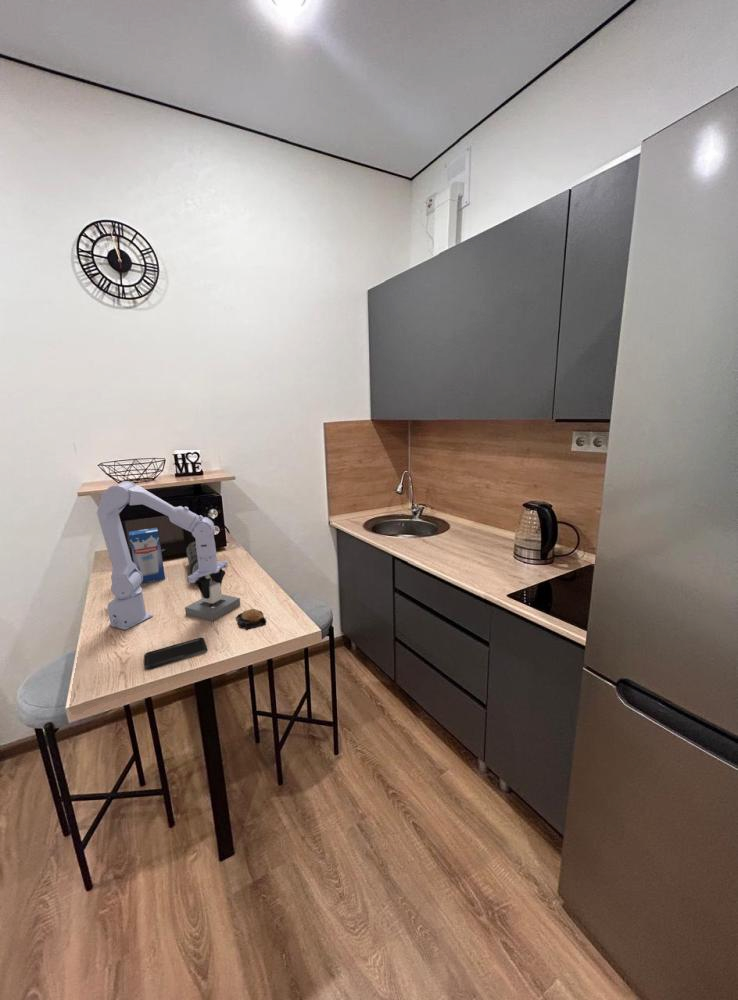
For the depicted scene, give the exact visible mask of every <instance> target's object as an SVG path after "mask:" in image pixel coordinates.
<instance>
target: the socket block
mask: <svg viewBox="0 0 738 1000" xmlns="http://www.w3.org/2000/svg"><path fill="white" fill-rule="evenodd" d="M212 605H214V606H215V607H211V606H212ZM239 606H241V597H236V596H232V595H227V594H222V599H221V600H219V601H217V602H215V603H213V604H212V603H208V602H203V601H202V600H201V598H200V599H198V600H196V601H194V602H192V603H191V604H188V605H187V606H185V607H184V609H185V615H186V616H189V617H193V618H194V617H195V618H198V619H202V620H206V621H209V622H210V621H211V622H214V621H216V620H218V619H219V618H221V617H223V616H224V615H226V614H228V613H229V612H231V611H233V610H234V609H236V608H238V607H239Z"/></svg>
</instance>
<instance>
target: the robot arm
mask: <svg viewBox="0 0 738 1000" xmlns="http://www.w3.org/2000/svg"><path fill="white" fill-rule="evenodd" d="M100 497H101V498H100V499H101V500H100V502H99V504H98V508H97V512H96V515H97V518H98V521H99V525H100V529H101V531H102V532H101V533H102V536H103V539H104V543H105V547H106V548H107V552H108V556H109V558H110V559H109V560H110V562H111V566H112V572H111V577H110V578H111V579H110V580H111V586H110V591H111V594H112V595H113V596H114V598H113V599H112V600H111V601H109V602H108V604H107V612H108V616H109V617H108V618H109V624H108V625H109V626H110V627H114V628H118V629H120V630H126V631H127V630H128V629H130V628H132V627H134V626H136V625H138V624H139V623H142V622H143V621H146V620H148V619H150V618H152V617H153V614H151V613H147V611H146V604H145V599H144V592H143V588H142V587H141V585H142V584H141V583H142V581H143V575H142V573H141V572H140V571H139V570H138V569H137V566H136V564H135V563H134V561H133V559H132V557H131V553H130V548H129V545H128V543H127V539H126V535H125V531H124V528H123V525H122V521H121V517H120V513H121V512H122V511H123V509H125V507H126V506H127V505H129V506H137V505H138V506H140V505H143V506H145V507H148V508H149V509H151V510H154V511H156V512H158V513H161V514H162V515H165V516H168V519H169V521H170V523H172V524H174V525H175V526H177V527H180V528H181V529H183V530H185V531H188V532H189V533H191V536H192V537H193V538H194V539H195V541H196V545H195V546H196V550H195V551H196V552H197V558H198V566H199V570H197V571H196V572H195V573H193V574H192V575H191V574H190V575H188V576H187V579H188V583H191V584H194V583H195V585H196V586H197V588H198V589H199V592H200V591H201V592H200V594H201V593H202V596H203V598H206V599H208V598H209V596H210V593H209V584H210V580H212V581H215V582H217V583H220V585H221V586H222V583H223V579H224V577H225V575H226V570H224V568H225V569H226V568H229V564H228V561H225V560H221V561H220V562H219V561H218V557H217V548H216V541H215V536H214V533H213V531H214V529H215V524H214V522H213V520H212V519H210V518H209V517H207V516H204V517H203V515H201V514H200V515H198V514H197V513H195V512H193V511H191V510H190V509H189V507H188V506H184V507H183V506H182V505H179V506H173V504H170V503H169V502H167V501H165V500H163V499H162V498H161V497H158V496H156V494H154V493H152V492H150V491H148V490H146V488H144V487H142V486H140V485H139V484H137V485H136V484H135V483H134V482H132V481H128V480H126V481H125V480H124V481H122V482H120V483H117V484H115V485H111V486H109V487H108V488H106V490H104V492H102V493H101V494H100ZM207 575H210V577H211V578H210V579H207V578H205V576H207Z"/></svg>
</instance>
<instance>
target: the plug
mask: <svg viewBox="0 0 738 1000" xmlns="http://www.w3.org/2000/svg"><path fill="white" fill-rule="evenodd" d="M199 592H200V599H201V600H202V601H203V602H208V603H212V604H213V603H215V602H217V601H219V600H221V599H222V584H221V585H220V583H217V582H215V581H212V580H211V579H210V584H209V593H210V596H209V598H208V599H206V598H203V596H202V593H201V591H200V590H199ZM213 605H214V604H213Z"/></svg>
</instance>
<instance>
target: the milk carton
mask: <svg viewBox="0 0 738 1000" xmlns="http://www.w3.org/2000/svg"><path fill="white" fill-rule="evenodd" d="M128 538H129V543H130V548H131V553H132V562H133V563H135V564H136V566H137V569H138V570H139V571H140V572H141V573H142V575H143V581H142V583H141V584H140V585H143V584H148V583H151V582H157V581H162V580H165V579H166V574H165V569H164V561H163V556H162V549H161V543H160V540H161V539H160V535H159V530H158V527H152V528H144V529H139V530H132V531H128Z"/></svg>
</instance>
